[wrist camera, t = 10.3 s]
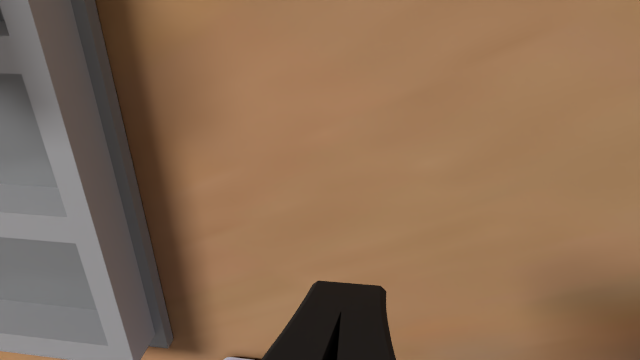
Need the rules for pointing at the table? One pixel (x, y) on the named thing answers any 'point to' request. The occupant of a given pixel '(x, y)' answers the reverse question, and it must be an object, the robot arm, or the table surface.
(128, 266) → the parts fixture tray
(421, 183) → the table surface
